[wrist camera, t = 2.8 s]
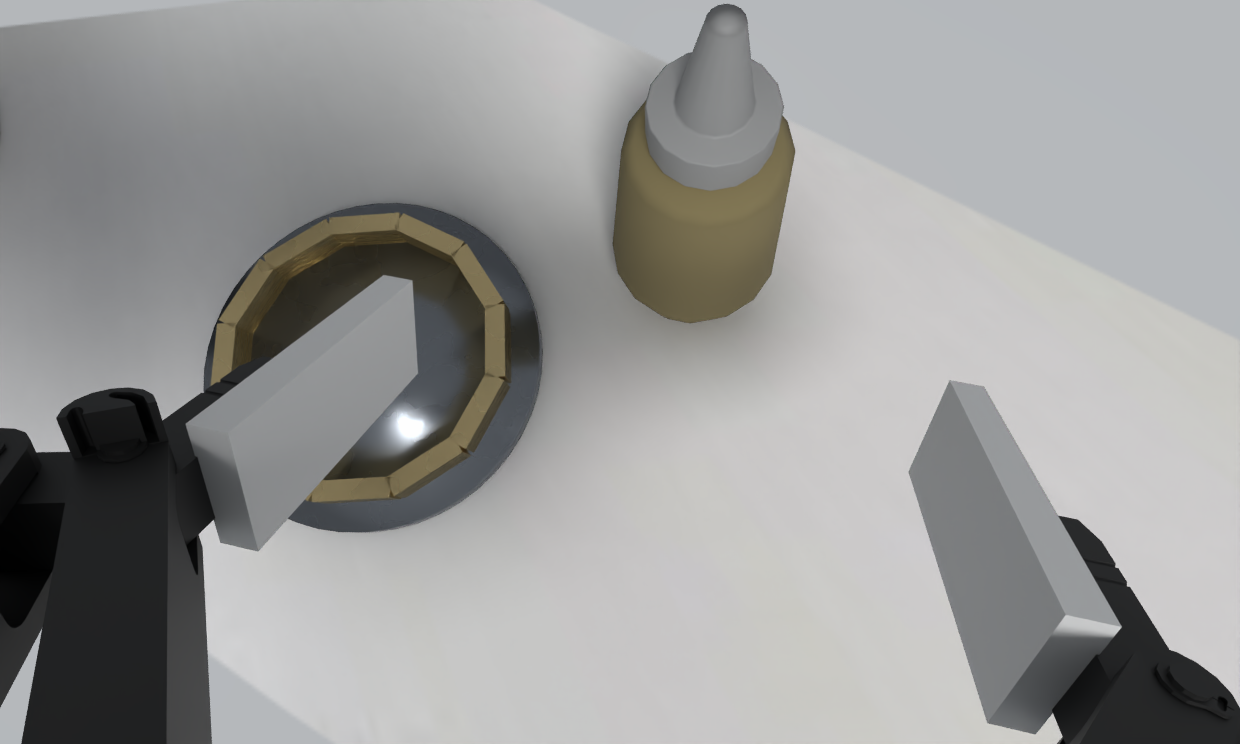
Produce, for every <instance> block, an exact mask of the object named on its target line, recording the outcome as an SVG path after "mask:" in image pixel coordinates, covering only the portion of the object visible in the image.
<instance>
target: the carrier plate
mask: <svg viewBox="0 0 1240 744" xmlns="http://www.w3.org/2000/svg"><path fill="white" fill-rule="evenodd" d="M383 275H386V276H392V277H397V278H402V279H408V280H412V282H413V299H414V316H415V332H416V349H417V366H418V374H417V375H416V376H415V377H414V378H413V379H412V380H411V382H410V383H409V384H408V385H407V386H406V387H405V388H404V389H403V391H402V392H401V393H400V394H399V395H398V396H397V397H396V398H395V399H394V401H393V402H392V403H391V404H390V405H389V406H388V407H387V408H386V409H385V411H384V412H383V413H382V414H381V415H380V416H379V417H378V418H377V420H376V421H375V422H374V423H373V424H372V425H371V426H370V427H369V428H368V430H367V431H366V432H365V433H364V434H363V435H362V436H361V437H360V438H359V440H358V441H357V442H356V443H355V444H354V445H353V446H352V447H351V449H350V450H349V451H348V452H347V453H346V454H345V455H344V456H343V457H342V459H341V460H340V461H339V462H338V463H337V464H336V465H335V466H334V467H333V469H332V470H331V471H330V472H329V473H328V474H327V475H326V476H325V478H324V479H323V480H322V481H321V482H320V483H319V484H318V485H317V486H316V488H315V489H314V490H313V491H312V492H311V493H310V494H309V495H308V496H307V498H306V499H305V500H304V501H303V502H302V503H301V504H300V505H299V507H298V508H297V509H296V510H295V511H294V512H293V513H292V514H291V515H290V517H289V518H288V519H290V520H292V521H294V522H297V523H300V524H304V525H307V526H310V527H314V528H317V529H323V530H330V531H336V532H378V531H386V530H394V529H398V528H402V527H406V526H410V525H413V524H417V523H419V522H422V521H424V520H427V519H429V518H432V517H434V516H437V515H439V514H441V513H442V512H444V511H446V510H448V509H450V508H451V507H453V506H455V505H457V504H458V503H460V502H461V501H463V500H464V499H465V498H467V497H468V496H469V495H471V494H472V493H473V492H475V491H476V490H477V489H479V488H480V487H481V486H482V485H483V484H484V483H485V482H486V481H487V480H488V479H489V478H490V477H491V476H492V475H493V474H494V473H495V472H496V471H497V470H498V468H499V467H500V466H501V465H502V464H503V462H504V461H505V460H506V459H507V457H508V456H509V455H510V453H511V452H512V450H513V449H514V447H515V445H516V444H517V442H518V441H519V439H520V437H521V436H522V434H523V432H524V429H525V427H526V425H527V423H528V421H529V419H530V416H531V414H532V411H533V408H534V405H535V401H536V398H537V395H538V390H539V385H540V379H541V373H542V352H543V351H542V340H541V330H540V326H539V322H538V318H537V313H536V310H535V307H534V305H533V302H532V300H531V297H530V294H529V292H528V290H527V288H526V286H525V284H524V282H523V281H522V279H521V277H520V275H519V274H518V272H517V270H516V268H515V267H514V266H513V264H512V263H511V262H510V260H509V259H508V258H507V257H506V255H505V254H504V253H503V252H502V251H501V250H500V249H499V248H498V247H497V246H496V245H495V244H494V243H493V242H492V241H491V240H490V239H489V238H488V237H486V236H485V235H484V234H482V233H481V232H480V231H478V230H477V229H476V228H474V227H473V226H471V225H469V224H467V223H465V222H463V221H462V220H460V219H458V218H456V217H454V216H451V215H448V214H446V213H443V212H441V211H438V210H434V209H430V208H426V207H421V206H417V205H407V204H398V203H393V204H371V205H364V206H356V207H353V208H349V209H345V210H341V211H337V212H334V213H331V214H329V215H326V216H323V217H321V218H318V219H316V220H314V221H312V222H310V223H308V224H306V225H304V226H302V227H300V228H298V229H297V230H295V231H294V232H292V233H291V234H289V235H288V236H286V237H285V238H283V239H282V240H280V241H279V242H277V243H276V244H275V245H274V246H273V247H271V248H270V249H269V250H268V251H267V252H266V253H264V254H263V255H262V256H261V257H260V258H259V259H258V260H257V261H256V262H255V263H254V264H253V266H252V267H251V268H250V269H249V270H248V271H247V272H246V273H245V275H244V276H243V277H242V279H241V280H240V281H239V283H238V284H237V285H236V287H235V288H234V290H233V291H232V293H231V295H230V296H229V298H228V300H227V301H226V303H225V305H224V306H223V309H222V311H221V313H220V315H219V318H218V320H217V322H216V324H215V327H214V330H213V333H212V336H211V340H210V343H209V346H208V351H207V357H206V363H205V368H204V393H205V390H206V389H207V388H209V387H210V386H212V385H213V384H214V383H216V382H220V379H221V378H223V377H224V376H226V375H227V374H228V373H230V372H231V371H233V370H234V369H235V368H237V367H238V366H240V365H243V364H245V363H248V362H250V361H253V360H255V359H258V358H260V357H263V356H265V357H270V358H274V357H275V356H277V355H278V354H279V353H280V352H282V351H283V350H284V349H286V348H287V347H288V346H290V345H291V344H292V343H294V342H295V341H296V340H298V339H299V338H300V337H302V336H303V335H304V334H306V333H307V332H308V331H310V330H311V329H312V328H314V327H315V326H316V325H318V324H319V323H320V322H322V321H323V320H324V319H326V318H327V317H328V316H330V315H331V314H332V313H334V312H335V311H336V310H338V309H339V308H340V307H342V306H343V305H344V304H346V303H347V302H348V301H350V300H351V299H352V298H354V297H355V296H356V295H358V294H359V293H360V292H362V291H363V290H364V289H366V288H367V287H368V286H370V285H371V284H372V283H374V282H375V281H376V280H378V279H379V278H380V277H382V276H383Z"/></svg>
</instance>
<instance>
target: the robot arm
mask: <svg viewBox="0 0 1240 744" xmlns="http://www.w3.org/2000/svg"><path fill="white" fill-rule="evenodd" d="M417 374H418V366H417V349H416V332H415V316H414V299H413V282H412V280H408V279H402V278H397V277H392V276H386V275H383V276H382V277H380V278H379V279H378V280H376V281H375V282H374V283H372V284H371V285H370V286H368V287H367V288H366V289H364V290H363V291H362V292H360V293H359V294H358V295H356V296H355V297H354V298H352V299H351V300H350V301H348V302H347V303H346V304H344V305H343V306H342V307H340V308H339V309H338V310H336V311H335V312H334V313H332V314H331V315H330V316H328V317H327V318H326V319H324V320H323V321H322V322H320V323H319V324H318V325H316V326H315V327H314V328H312V329H311V330H310V331H308V332H307V333H306V334H304V335H303V336H302V337H300V338H299V339H298V340H296V341H295V342H294V343H292V344H291V345H290V346H288V347H287V348H286V349H284V350H283V351H282V352H280V353H279V354H278V355H277V356H275V357H274V358H270V357H265V356H263V357H260V358H258V359H255V360H253V361H250V362H248V363H245V364H243V365H240V366H238V367H237V368H235V369H234V370H233V371H231V372H230V373H228V374H227V375H226V376H224V377H223V378H221V379H220V382H216V383H214V384H213V385H212V386H210V387H209V388H207V389H206V390H205V393H200V394H199V395H198V396H196V397H195V398H194V399H192V400H191V401H189V402H188V403H187V404H185V405H184V406H182V407H181V408H180V409H178V410H177V411H175V412H174V413H173V414H171V415H170V416H168V417H167V418H166V419H164V420H163V421H162V418H161V415H160V412H159V409H158V406H157V403H156V400H155V398H154V396H153V394H151V393H149V392H147V391H145V390H143V389H135V388H116V389H108V390H103V391H99V392H95V393H91V394H89V395H86V396H84V397H81V398H79V399H77V400H74V401H73V402H72V403H70V404H69V405H67V406H66V407H64V408H63V409H62V410H61V412H60V413H59V415H58V416H57V418H56V419H57V421H58V424H59V426H60V429H61V431H62V433H63V436H64V438H65V440H66V443H67V445H68V447H69V450H70V452H38V453H36V451H35V449H34V447H33V445H32V442H31V440H30V439H29V437H28V435H27V434H26V433H25V432H22V431H20V430H17V429H9V428H0V707H1V705H2V703H3V701H4V699H5V697H6V696H7V693H8V692H9V690H10V688H11V686H12V684H13V682H14V680H15V678H16V676H17V674H18V672H19V671H20V669H21V667H22V665H23V663H24V661H25V659H26V657H27V656H28V653H29V652H30V650H31V648H32V646H33V644H34V642H35V640H36V638H37V636H38V635H39V633H40V631H41V629H42V633H41V639H40V644H39V650H38V655H37V661H36V666H35V672H34V677H33V683H32V688H31V693H30V699H29V704H28V710H27V716H26V721H25V726H24V732H23V737H22V743H21V744H212V740H211V739H212V737H211V717H210V697H209V675H208V654H207V633H206V612H205V591H204V570H203V549H202V544H201V541H200V538H199V535H198V534H199V533H200V532H201V531H202V530H203V529H204V528H205V527H206V526H207V525H209V524H210V523H211V522H212V521H213V520H214V522H215V526H216V529H217V532H218V536H219V539H220V542H221V543H225V544H229V545H233V546H237V547H242V548H246V549H250V550H254V551H259V550H260V549H261V548H262V547H263V546H264V544H265V543H266V542H267V541H268V540H269V539H270V538H271V537H272V536H273V534H274V533H275V532H276V531H277V530H278V529H279V528H280V527H281V525H282V524H283V523H284V522H285V521H286V520H287V519H288V518H289V517H290V515H291V514H292V513H293V512H294V511H295V510H296V509H297V508H298V507H299V505H300V504H301V503H302V502H303V501H304V500H305V499H306V498H307V496H308V495H309V494H310V493H311V492H312V491H313V490H314V489H315V488H316V486H317V485H318V484H319V483H320V482H321V481H322V480H323V479H324V478H325V476H326V475H327V474H328V473H329V472H330V471H331V470H332V469H333V467H334V466H335V465H336V464H337V463H338V462H339V461H340V460H341V459H342V457H343V456H344V455H345V454H346V453H347V452H348V451H349V450H350V449H351V447H352V446H353V445H354V444H355V443H356V442H357V441H358V440H359V438H360V437H361V436H362V435H363V434H364V433H365V432H366V431H367V430H368V428H369V427H370V426H371V425H372V424H373V423H374V422H375V421H376V420H377V418H378V417H379V416H380V415H381V414H382V413H383V412H384V411H385V409H386V408H387V407H388V406H389V405H390V404H391V403H392V402H393V401H394V399H395V398H396V397H397V396H398V395H399V394H400V393H401V392H402V391H403V389H404V388H405V387H406V386H407V385H408V384H409V383H410V382H411V380H412V379H413V378H414V377H415V376H416V375H417ZM909 475H910V478H911V481H912V484H913V487H914V491H915V494H916V497H917V500H918V503H919V507H920V510H921V513H922V516H923V519H924V522H925V526H926V529H927V532H928V535H929V538H930V542H931V545H932V548H933V551H934V554H935V557H936V561H937V564H938V567H939V570H940V573H941V577H942V580H943V583H944V586H945V589H946V593H947V596H948V599H949V602H950V605H951V608H952V612H953V615H954V618H955V621H956V624H957V628H958V631H959V634H960V637H961V640H962V643H963V647H964V650H965V653H966V656H967V659H968V663H969V666H970V669H971V672H972V675H973V678H974V682H975V685H976V688H977V691H978V694H979V698H980V701H981V704H982V707H983V710H984V714H985V717H986V720H987V723H989V724H994V725H998V726H1002V727H1006V728H1011V729H1015V730H1019V731H1023V732H1028V733H1032V734H1036V733H1037V732H1038V731H1039V729H1040V728H1041V727H1042V726H1043V724H1044V723H1045V722H1046V721H1047V719H1048V718H1049V717H1050V716H1051V714H1052V713H1053V714H1054V716H1055V719H1056V721H1057V724H1058V726H1059V729H1060V731H1061V734H1062V736H1063V737H1062V738H1061V740H1060V741H1059V742H1058V743H1057V744H1240V708H1239V706H1238V704H1237V702H1236V700H1235V699H1234V697H1233V695H1232V694H1231V693H1230V691H1229V690H1228V689H1227V688H1226V687H1225V686H1224V685H1223V684H1222V683H1221V682H1220V681H1219V680H1218V679H1217V678H1216V677H1215V676H1214V675H1212V674H1211V673H1210V672H1208V671H1207V670H1206V669H1204V668H1203V667H1202V666H1200V665H1199V664H1198V663H1196V662H1194V661H1192V660H1190V659H1189V658H1187V657H1185V656H1183V655H1181V654H1179V653H1177V652H1174V651H1171V650H1169V648H1168V647H1167V645H1166V644H1165V642H1164V640H1163V639H1162V637H1161V636H1160V634H1159V632H1158V631H1157V629H1156V628H1155V626H1154V625H1153V623H1152V621H1151V620H1150V618H1149V617H1148V615H1147V613H1146V612H1145V610H1144V609H1143V607H1142V605H1141V604H1140V602H1139V601H1138V599H1137V597H1136V596H1135V594H1134V593H1133V591H1132V589H1131V588H1130V587H1127V581H1126V580H1125V578H1124V577H1123V575H1122V573H1121V572H1120V570H1119V569H1118V568H1115V562H1114V561H1113V559H1112V557H1111V556H1110V554H1109V553H1108V551H1107V549H1106V548H1105V546H1104V545H1103V543H1102V541H1100V540H1099V539H1098V538H1097V537H1096V536H1095V535H1094V534H1093V533H1092V532H1091V531H1090V530H1089V529H1087V528H1086V527H1085V526H1084V525H1083V524H1082V523H1081V522H1080V521H1079V520H1077V519H1072V518H1067V517H1062V516H1058V515H1057V513H1056V511H1055V510H1054V508H1053V506H1052V504H1051V503H1050V501H1049V499H1048V497H1047V496H1046V494H1045V492H1044V490H1043V489H1042V487H1041V485H1040V483H1039V482H1038V480H1037V478H1036V476H1035V475H1034V473H1033V471H1032V470H1031V468H1030V466H1029V464H1028V463H1027V461H1026V459H1025V457H1024V456H1023V454H1022V452H1021V450H1020V449H1019V447H1018V445H1017V443H1016V442H1015V440H1014V438H1013V436H1012V435H1011V433H1010V431H1009V429H1008V428H1007V426H1006V424H1005V422H1004V421H1003V419H1002V417H1001V415H1000V414H999V412H998V410H997V409H996V407H995V405H994V403H993V402H992V400H991V398H990V396H989V395H988V393H987V391H986V389H985V388H984V387H983V386H978V385H972V384H967V383H962V382H956V381H951V380H950V381H949V383H948V385H947V387H946V390H945V392H944V394H943V396H942V399H941V401H940V403H939V405H938V407H937V410H936V412H935V414H934V416H933V419H932V421H931V423H930V425H929V427H928V430H927V432H926V434H925V436H924V439H923V441H922V443H921V445H920V448H919V450H918V452H917V454H916V456H915V459H914V461H913V463H912V465H911V468H910V470H909ZM42 627H43V628H42Z"/></svg>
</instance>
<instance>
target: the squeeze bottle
mask: <svg viewBox="0 0 1240 744" xmlns="http://www.w3.org/2000/svg"><path fill="white" fill-rule="evenodd" d="M783 109H784V105H783V101H782V98H781V94H780V90H779V87H778V84H777V82H776V81H775V80H774V79H773V78H772V76H771V75H770V74H769V73H768V71H767V70H766V69H765V68H764V67H763V65H761V64H759V63H757V62H756V61H754V60H752V59H751V54H750V43H749V33H748V22H747V17H746V14H745V13H744V12H743V10H742V9H741V8H739V7H737V6H735V5H730V4H723V5H718V6H716V7H714V8H713V9H711V10H710V12H709V13H708V14H707V16H706V19H705V21H704V24H703V26H702V29H701V31H700V34H699V37H698V39H697V42H696V45H695V47H694V49H693V52H692V53H687V54H685V55H684V56H682V57H680V58H678V59H677V60H675V61H673V62H672V63H670V64H668V65H666V66H665V67H664V69H663V70H662V71H661V72H660V74H659V75H658V76H657V77H656V79H655V80H654V81H653V82H652V84H651V85H650V89H649V93H648V97H647V100H646V101H645V102H644V103H643V105H642V106H641V107H640V109H639V110H638V111H637V112H636V114H635V115H634V116H633V117H632V119H631V120H630V121H629V123H628V127H627V131H626V135H625V138H624V142H623V146H622V150H621V159H620V170H619V181H618V192H617V203H616V214H615V225H614V236H613V248H614V254H615V260H616V265H617V271H618V274H619V275H620V277H621V278H622V280H623V281H624V283H625V284H626V286H627V287H628V289H629V290H630V292H631V293H632V295H633V296H634V298H635V299H637V300H638V301H640V302H642V303H643V304H645V305H646V306H648V307H649V308H651V309H652V310H654V311H655V312H657V313H658V314H660V315H661V316H664V317H666V318H668V319H672V320H677V321H681V322H686V323H694V322H700V321H706V320H711V319H716V318H721V317H726V316H728V315H730V314H731V313H733V312H734V311H736V310H738V309H739V308H741V307H742V306H744V305H746V304H747V303H749V302H751V301H752V300H754V298H755V297H756V295H757V294H758V293H759V291H760V290H761V288H762V287H763V285H764V284H765V283H766V281H767V280H768V278H769V277H770V275H771V273H772V267H773V262H774V257H775V252H776V247H777V242H778V237H779V232H780V227H781V222H782V217H783V212H784V207H785V202H786V197H787V192H788V187H789V182H790V176H791V171H792V166H793V161H794V155H795V148H794V144H793V140H792V137H791V133H790V129H789V125H788V122H787V120H786V119H785V118H784V117H783V115H782V114H783Z"/></svg>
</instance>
